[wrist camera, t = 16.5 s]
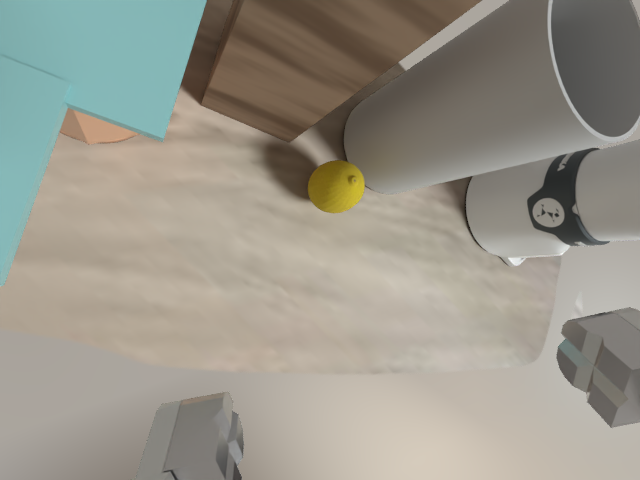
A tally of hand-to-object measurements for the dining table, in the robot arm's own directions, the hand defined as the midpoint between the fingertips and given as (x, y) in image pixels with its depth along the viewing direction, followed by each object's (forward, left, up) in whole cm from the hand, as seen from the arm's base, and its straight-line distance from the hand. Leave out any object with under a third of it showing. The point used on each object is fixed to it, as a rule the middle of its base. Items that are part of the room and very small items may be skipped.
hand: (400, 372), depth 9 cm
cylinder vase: (-27, -8, -31) cm, 42 cm away
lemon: (-16, -5, -31) cm, 35 cm away
